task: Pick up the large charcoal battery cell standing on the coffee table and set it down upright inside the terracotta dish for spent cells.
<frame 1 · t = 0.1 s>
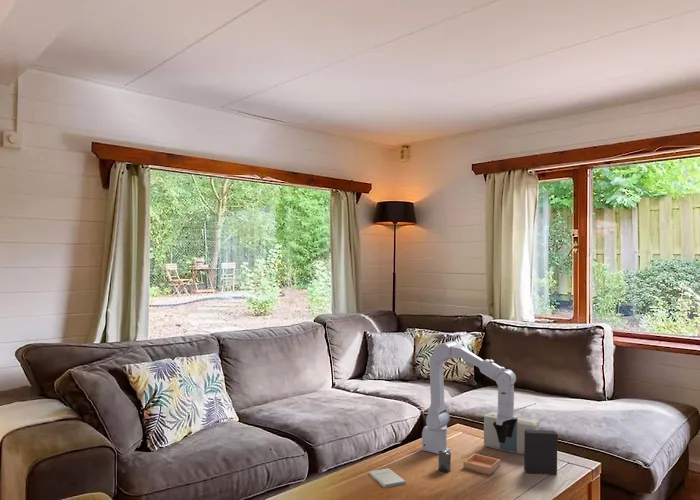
hand: (505, 439, 204), 10 cm above the table, tool pointing down, fingers open, 7 cm apart
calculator: (540, 473, 199), on the table
stereo radio cassette player: (511, 451, 221), on the table
cell: (444, 470, 200), on the table
external hard drive: (386, 481, 192), on the table
dish: (481, 467, 203), on the table
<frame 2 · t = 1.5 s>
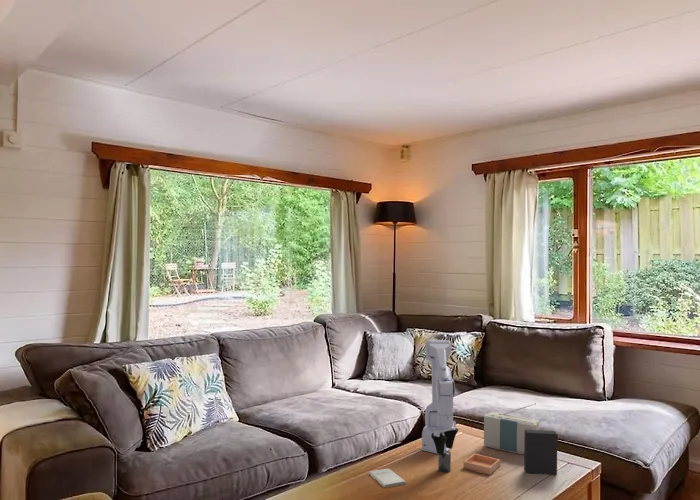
hand: (444, 451, 200), 7 cm above the table, tool pointing down, fingers open, 7 cm apart
nothing on the table moved.
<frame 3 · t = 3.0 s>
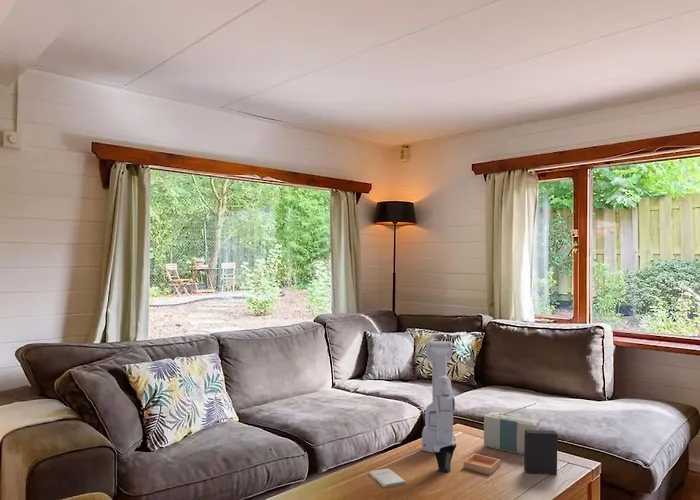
hand: (444, 465, 200), 2 cm above the table, tool pointing down, fingers closed on cell, 4 cm apart
cell: (444, 470, 200), on the table, touching gripper
everything else where it was.
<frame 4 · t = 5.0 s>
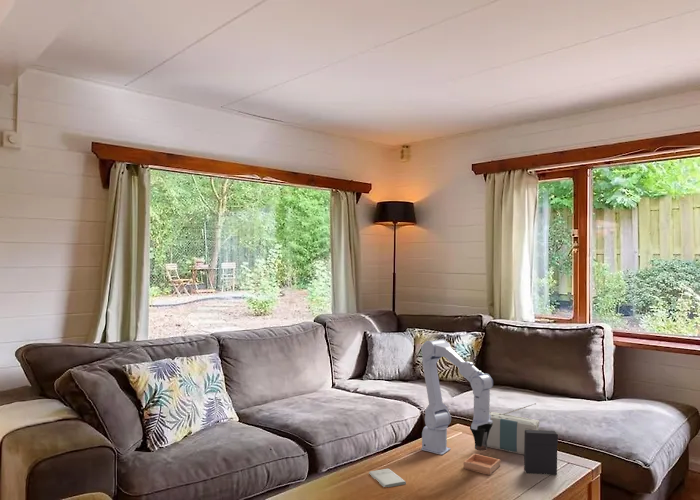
hand: (481, 444, 203), 9 cm above the table, tool pointing down, fingers closed on cell, 4 cm apart
cell: (480, 448, 203), point 7 cm above the table, touching gripper
everything else where it was.
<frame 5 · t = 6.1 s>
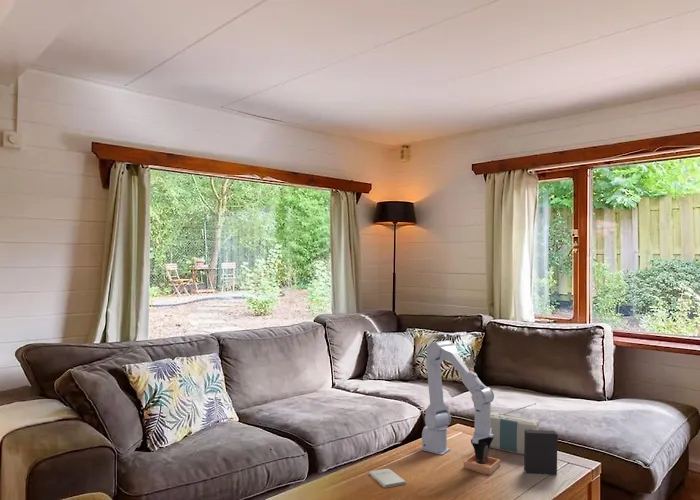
hand: (482, 457, 203), 4 cm above the table, tool pointing down, fingers closed on cell, 4 cm apart
cell: (481, 462, 203), point 2 cm above the table, touching gripper
everything else where it was.
when the fingers open (4 cm above the table, at t = 6.9 s): cell drops 1 cm, resting on dish.
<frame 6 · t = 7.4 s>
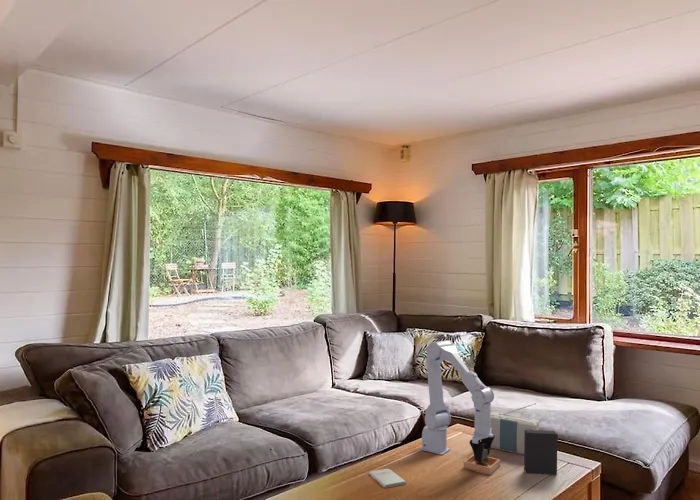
hand: (482, 457, 203), 4 cm above the table, tool pointing down, fingers open, 7 cm apart
cell: (481, 465, 203), point 1 cm above the table, touching dish
everything else where it was.
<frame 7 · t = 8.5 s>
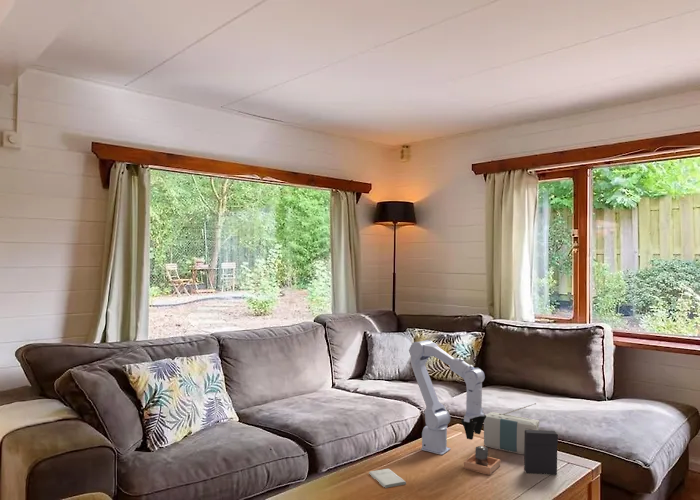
hand: (473, 436, 209), 9 cm above the table, tool pointing down, fingers open, 7 cm apart
nothing on the table moved.
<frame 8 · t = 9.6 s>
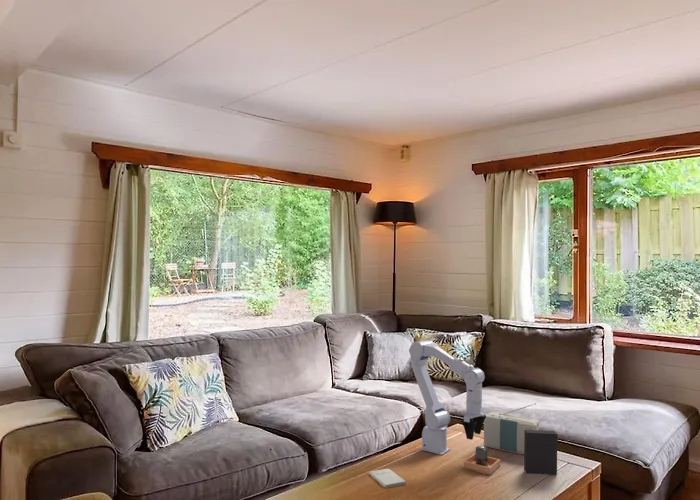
hand: (473, 436, 209), 9 cm above the table, tool pointing down, fingers open, 7 cm apart
nothing on the table moved.
at the end: cell inside the target area on the dish (0.1 cm from its centre), point 0.5 cm above the dish's base; cell tilted 0°; the gripper is holding nothing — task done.
